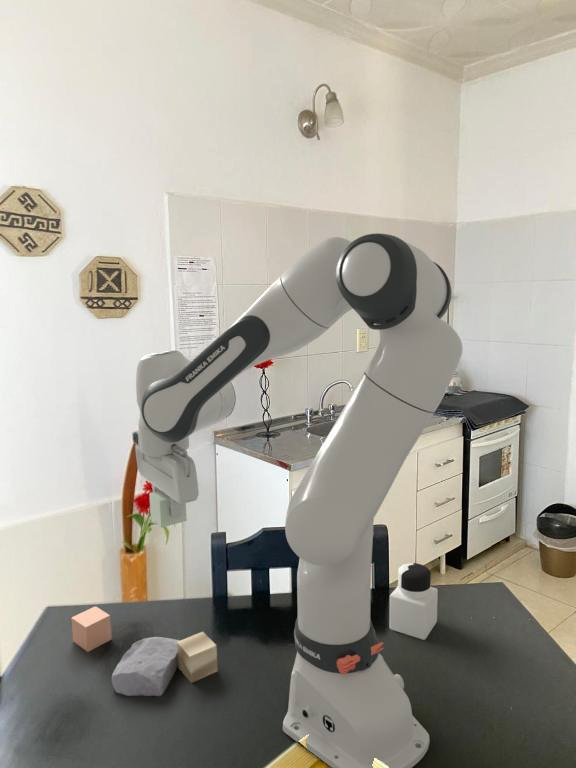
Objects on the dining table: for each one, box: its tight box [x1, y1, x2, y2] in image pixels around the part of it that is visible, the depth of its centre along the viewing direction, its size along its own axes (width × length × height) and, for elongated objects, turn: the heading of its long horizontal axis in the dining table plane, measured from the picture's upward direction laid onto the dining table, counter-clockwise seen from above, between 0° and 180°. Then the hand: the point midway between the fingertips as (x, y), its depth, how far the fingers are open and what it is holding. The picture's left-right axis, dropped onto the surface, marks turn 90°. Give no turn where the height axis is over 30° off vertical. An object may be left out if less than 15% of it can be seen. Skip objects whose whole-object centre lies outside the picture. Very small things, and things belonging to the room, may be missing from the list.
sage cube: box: [148, 491, 188, 528], centre depth 107 cm, size 5×5×5 cm
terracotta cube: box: [70, 606, 113, 653], centre depth 108 cm, size 5×5×5 cm
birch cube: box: [177, 631, 218, 684], centre depth 99 cm, size 5×5×5 cm
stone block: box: [111, 636, 180, 697], centre depth 99 cm, size 12×5×10 cm
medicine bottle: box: [389, 562, 439, 641], centre depth 110 cm, size 7×7×12 cm
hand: (168, 511), depth 107 cm, fingers closed on sage cube, 5 cm apart
